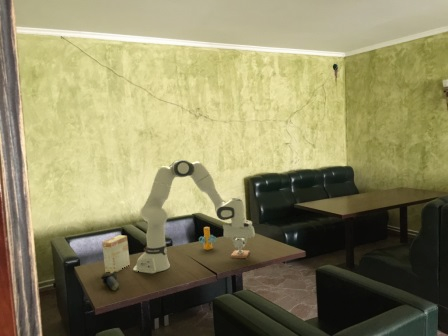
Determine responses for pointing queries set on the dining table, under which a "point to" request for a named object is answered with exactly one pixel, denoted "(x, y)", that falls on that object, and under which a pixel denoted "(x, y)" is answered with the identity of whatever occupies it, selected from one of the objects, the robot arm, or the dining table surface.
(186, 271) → the dining table surface
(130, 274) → the dining table surface
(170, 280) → the dining table surface
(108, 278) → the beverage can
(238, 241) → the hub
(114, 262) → the coffeecake box
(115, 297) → the dining table surface
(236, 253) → the shaft block
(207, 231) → the orange vase with loops
